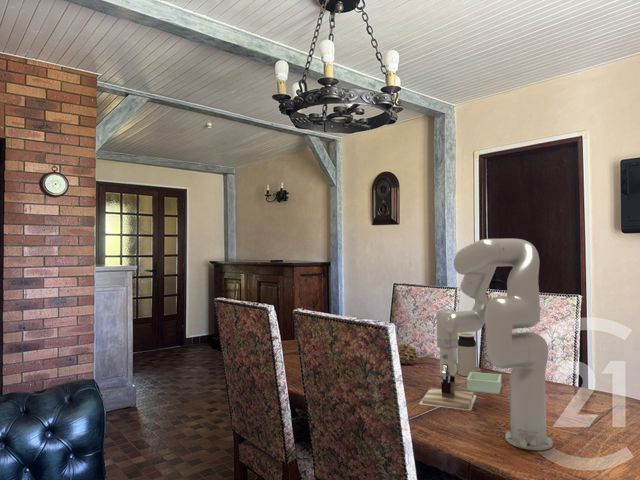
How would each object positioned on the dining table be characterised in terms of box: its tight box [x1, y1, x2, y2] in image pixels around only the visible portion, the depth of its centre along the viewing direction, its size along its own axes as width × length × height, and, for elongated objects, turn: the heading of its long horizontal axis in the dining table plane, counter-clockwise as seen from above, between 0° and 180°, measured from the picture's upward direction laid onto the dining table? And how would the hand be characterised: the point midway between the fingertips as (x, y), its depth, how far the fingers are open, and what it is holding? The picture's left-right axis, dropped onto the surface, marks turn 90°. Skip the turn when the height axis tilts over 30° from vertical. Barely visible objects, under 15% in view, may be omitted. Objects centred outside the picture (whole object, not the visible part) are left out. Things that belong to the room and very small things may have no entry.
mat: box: [418, 389, 477, 412], centre depth 170 cm, size 18×18×1 cm
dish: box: [466, 371, 502, 395], centre depth 184 cm, size 12×12×5 cm
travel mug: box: [456, 332, 478, 378], centre depth 206 cm, size 8×8×18 cm
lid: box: [421, 381, 474, 409], centre depth 170 cm, size 16×16×6 cm
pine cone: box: [397, 343, 436, 365], centre depth 226 cm, size 22×10×10 cm, turn 90°
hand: (448, 389), depth 170 cm, fingers open, 9 cm apart
